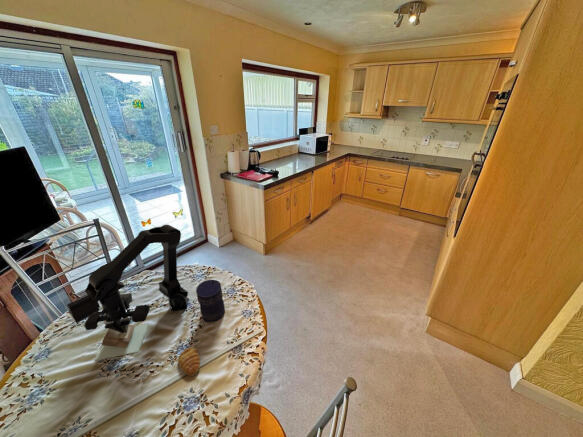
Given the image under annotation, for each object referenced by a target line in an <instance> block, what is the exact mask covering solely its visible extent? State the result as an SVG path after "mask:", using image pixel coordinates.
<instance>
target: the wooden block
mask: <svg viewBox="0 0 583 437" xmlns="http://www.w3.org/2000/svg"><path fill="white" fill-rule="evenodd" d="M135 326H137V325H133V324H129V325H128V331H127V333H121V332H118V331H115V330H112V329H108V328H107V331H106V333H105V334H104V337H103V340H102V342H101V347H102V346H113V347H124V348H127V345H128V343H129V341H130V338H131V336H132V333H133V331H134V328H135Z"/></svg>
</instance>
